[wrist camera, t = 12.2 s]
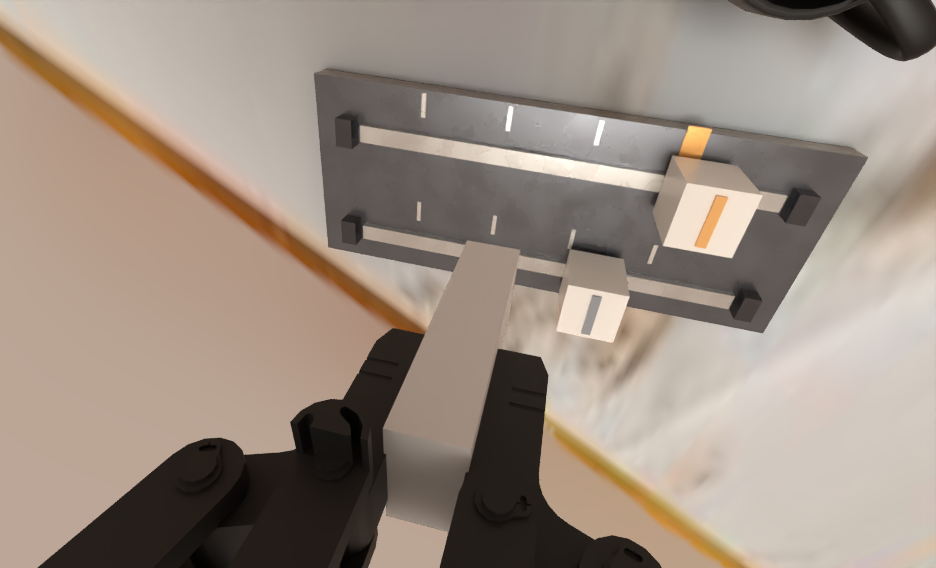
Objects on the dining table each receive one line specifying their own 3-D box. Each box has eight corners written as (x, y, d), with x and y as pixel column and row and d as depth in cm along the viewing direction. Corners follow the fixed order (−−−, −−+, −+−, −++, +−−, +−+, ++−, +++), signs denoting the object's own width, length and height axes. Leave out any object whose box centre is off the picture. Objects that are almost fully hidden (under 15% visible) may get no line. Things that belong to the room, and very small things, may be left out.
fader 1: (569, 249, 35) (568, 286, 30) (623, 259, 34) (629, 298, 30) (558, 292, 37) (555, 332, 33) (609, 302, 36) (612, 344, 32)
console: (326, 64, 34) (305, 71, 31) (855, 143, 29) (881, 158, 27) (338, 236, 42) (322, 253, 39) (754, 317, 37) (767, 343, 35)
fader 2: (672, 155, 30) (687, 184, 25) (737, 165, 29) (764, 197, 25) (652, 212, 32) (663, 247, 28) (712, 222, 31) (732, 260, 27)
